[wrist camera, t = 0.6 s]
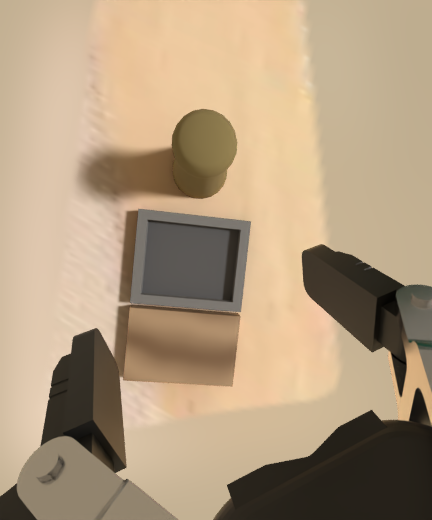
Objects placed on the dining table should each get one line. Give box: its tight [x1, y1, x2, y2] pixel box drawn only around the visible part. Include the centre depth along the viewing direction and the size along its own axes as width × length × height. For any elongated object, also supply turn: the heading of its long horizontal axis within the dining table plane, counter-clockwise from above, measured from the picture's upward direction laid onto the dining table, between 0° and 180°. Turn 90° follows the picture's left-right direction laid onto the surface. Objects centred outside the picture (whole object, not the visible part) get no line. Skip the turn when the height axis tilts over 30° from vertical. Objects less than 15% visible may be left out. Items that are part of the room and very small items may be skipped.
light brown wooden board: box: [123, 305, 240, 387], centre depth 34 cm, size 8×12×2 cm, turn 84°
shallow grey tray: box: [130, 209, 251, 312], centre depth 33 cm, size 10×12×2 cm
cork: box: [172, 109, 237, 199], centre depth 28 cm, size 6×6×11 cm
